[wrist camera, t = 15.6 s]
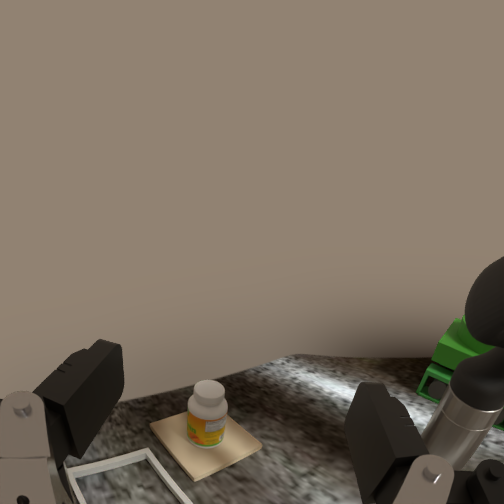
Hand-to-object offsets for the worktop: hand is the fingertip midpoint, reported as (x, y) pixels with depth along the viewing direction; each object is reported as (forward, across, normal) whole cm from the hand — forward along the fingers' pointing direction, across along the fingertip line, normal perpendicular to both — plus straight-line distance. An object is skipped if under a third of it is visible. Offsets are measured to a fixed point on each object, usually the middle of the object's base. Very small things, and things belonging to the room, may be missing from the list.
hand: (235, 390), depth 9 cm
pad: (+24, +4, +30) cm, 39 cm away
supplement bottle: (+24, +4, +29) cm, 38 cm away
